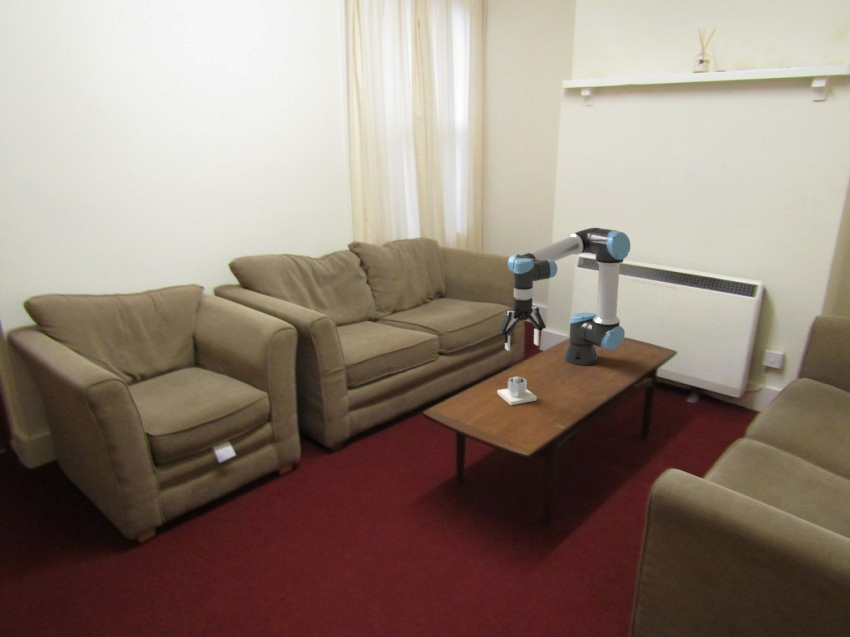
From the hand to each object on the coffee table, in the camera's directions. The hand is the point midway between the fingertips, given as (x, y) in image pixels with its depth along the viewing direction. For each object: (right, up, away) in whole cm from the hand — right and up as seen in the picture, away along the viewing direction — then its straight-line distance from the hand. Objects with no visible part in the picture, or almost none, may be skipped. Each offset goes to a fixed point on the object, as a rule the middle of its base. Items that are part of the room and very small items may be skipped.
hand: (522, 347), depth 233 cm
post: (-2, -21, +4) cm, 21 cm away
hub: (-2, -20, +3) cm, 20 cm away
